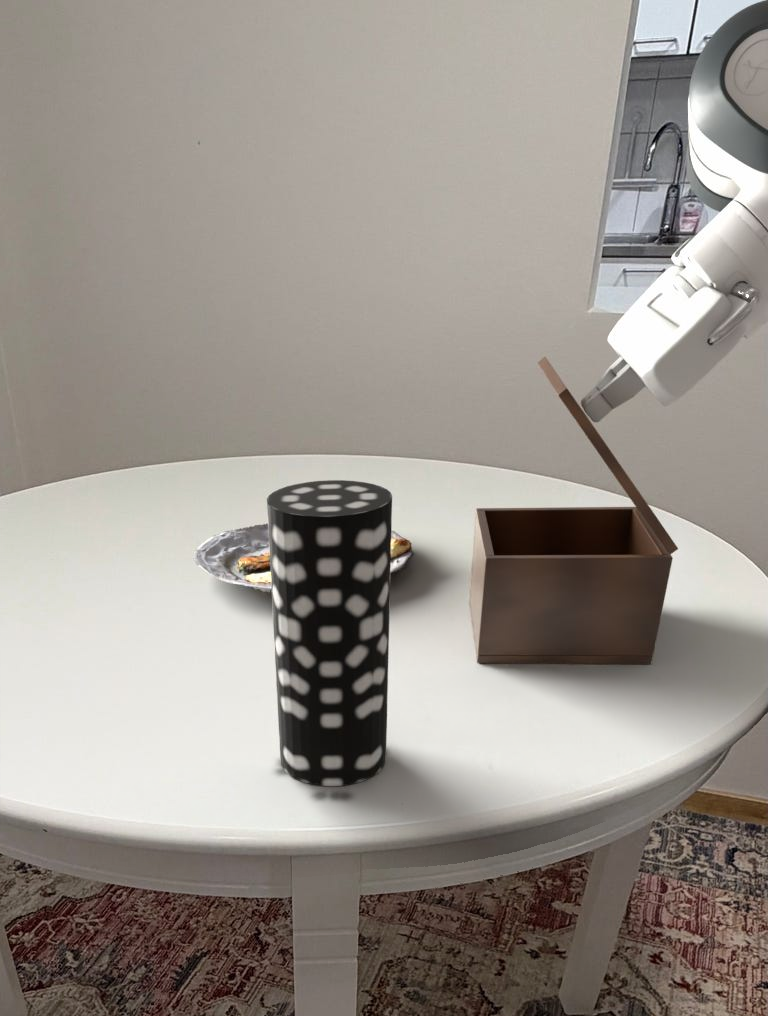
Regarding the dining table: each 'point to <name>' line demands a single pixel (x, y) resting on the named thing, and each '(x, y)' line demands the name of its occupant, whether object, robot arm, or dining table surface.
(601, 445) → the lid
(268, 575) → the food plate
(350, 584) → the white-spotted black cylinder
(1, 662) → the dining table surface
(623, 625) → the chest
